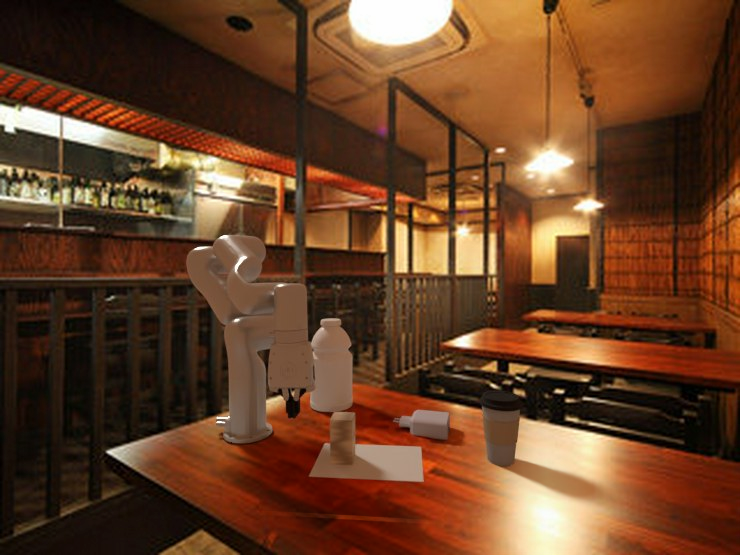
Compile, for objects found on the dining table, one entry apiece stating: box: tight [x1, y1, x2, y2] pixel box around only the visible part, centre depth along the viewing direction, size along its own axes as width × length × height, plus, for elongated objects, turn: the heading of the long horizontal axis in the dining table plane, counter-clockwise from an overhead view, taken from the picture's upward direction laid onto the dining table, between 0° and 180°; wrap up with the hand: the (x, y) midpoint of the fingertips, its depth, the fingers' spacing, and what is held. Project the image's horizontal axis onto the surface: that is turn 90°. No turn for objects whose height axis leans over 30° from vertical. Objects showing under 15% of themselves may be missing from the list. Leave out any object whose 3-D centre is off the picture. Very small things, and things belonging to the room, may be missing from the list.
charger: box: [392, 409, 451, 441], centre depth 108 cm, size 5×9×15 cm
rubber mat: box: [308, 442, 425, 483], centre depth 90 cm, size 24×16×1 cm, turn 84°
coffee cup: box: [478, 389, 523, 467], centre depth 91 cm, size 9×9×15 cm
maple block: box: [329, 411, 356, 465], centre depth 90 cm, size 5×5×10 cm
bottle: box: [309, 317, 354, 413], centre depth 128 cm, size 14×14×28 cm
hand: (293, 416), depth 91 cm, fingers closed
